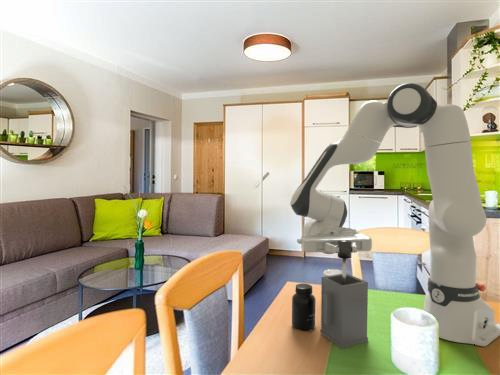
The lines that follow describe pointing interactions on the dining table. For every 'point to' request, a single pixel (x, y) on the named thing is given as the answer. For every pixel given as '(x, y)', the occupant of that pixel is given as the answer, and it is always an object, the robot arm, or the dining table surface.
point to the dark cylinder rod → (344, 255)
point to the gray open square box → (344, 310)
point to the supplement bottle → (303, 308)
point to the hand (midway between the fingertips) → (345, 249)
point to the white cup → (332, 272)
